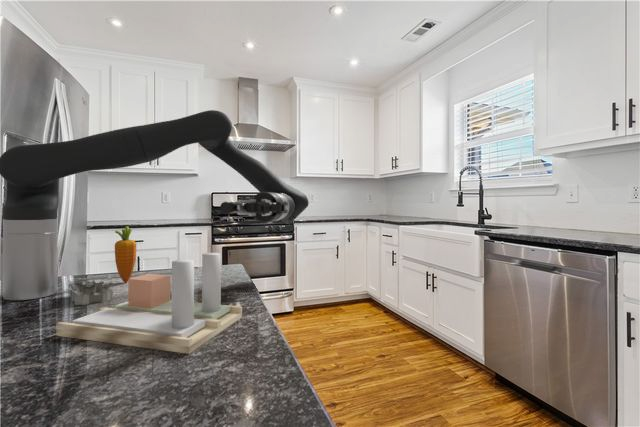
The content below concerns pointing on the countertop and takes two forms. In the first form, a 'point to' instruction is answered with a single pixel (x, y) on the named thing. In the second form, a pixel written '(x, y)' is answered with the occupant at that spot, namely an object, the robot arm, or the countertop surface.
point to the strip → (157, 324)
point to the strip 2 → (210, 292)
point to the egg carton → (90, 292)
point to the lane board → (151, 339)
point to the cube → (148, 290)
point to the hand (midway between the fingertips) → (240, 208)
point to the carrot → (125, 254)
